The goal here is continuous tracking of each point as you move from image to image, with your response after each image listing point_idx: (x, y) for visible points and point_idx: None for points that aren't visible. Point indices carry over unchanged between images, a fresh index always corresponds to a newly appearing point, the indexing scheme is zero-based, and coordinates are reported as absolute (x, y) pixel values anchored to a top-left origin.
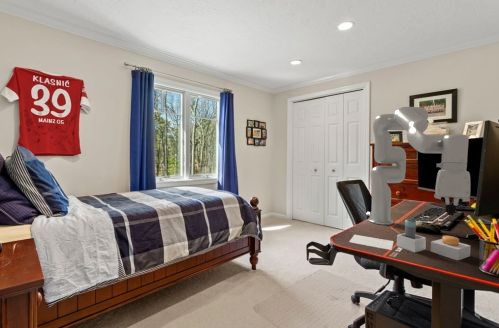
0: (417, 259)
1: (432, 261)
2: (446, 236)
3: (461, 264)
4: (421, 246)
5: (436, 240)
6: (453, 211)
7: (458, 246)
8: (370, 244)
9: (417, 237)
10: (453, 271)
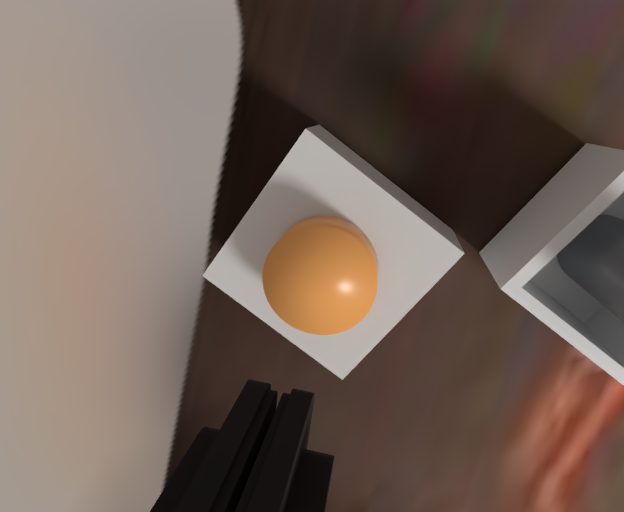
0: (606, 8)
1: (496, 22)
2: (342, 307)
3: (312, 66)
4: (529, 220)
5: (408, 306)
6: (229, 420)
7: (285, 215)
8: None
9: (555, 311)
10: None
